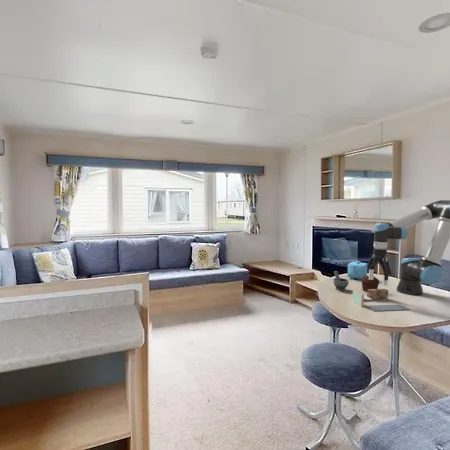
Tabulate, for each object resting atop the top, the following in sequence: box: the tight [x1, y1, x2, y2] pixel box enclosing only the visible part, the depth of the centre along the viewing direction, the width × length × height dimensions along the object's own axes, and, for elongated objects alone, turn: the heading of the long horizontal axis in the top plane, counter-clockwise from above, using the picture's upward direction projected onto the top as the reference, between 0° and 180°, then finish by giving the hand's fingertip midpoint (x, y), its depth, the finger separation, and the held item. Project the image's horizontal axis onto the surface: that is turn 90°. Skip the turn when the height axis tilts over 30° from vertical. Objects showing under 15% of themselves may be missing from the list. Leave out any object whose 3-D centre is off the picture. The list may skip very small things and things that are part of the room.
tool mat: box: [365, 304, 411, 312], centre depth 177 cm, size 22×8×1 cm, turn 98°
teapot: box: [347, 260, 368, 281], centre depth 244 cm, size 22×11×14 cm, turn 142°
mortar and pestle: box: [332, 270, 349, 292], centre depth 213 cm, size 11×9×12 cm
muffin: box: [360, 275, 381, 293], centre depth 211 cm, size 12×11×10 cm
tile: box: [351, 290, 365, 308], centre depth 183 cm, size 1×9×7 cm, turn 9°
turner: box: [363, 288, 389, 301], centre depth 193 cm, size 20×7×6 cm, turn 98°
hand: (377, 282), depth 193 cm, fingers open, 13 cm apart
